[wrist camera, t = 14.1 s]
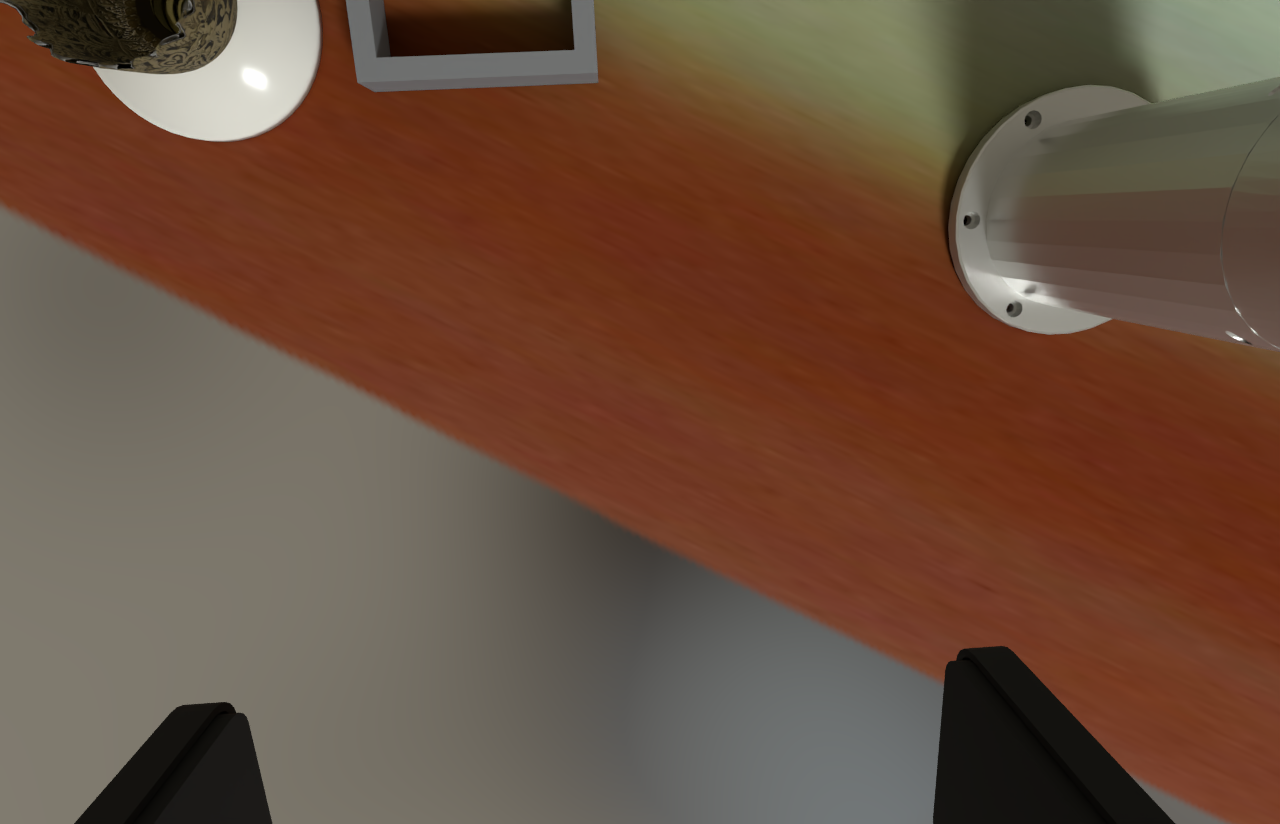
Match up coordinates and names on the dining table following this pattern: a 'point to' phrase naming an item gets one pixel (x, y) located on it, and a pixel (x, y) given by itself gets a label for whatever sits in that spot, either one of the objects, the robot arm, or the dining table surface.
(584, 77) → the pocket frame
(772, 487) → the dining table surface
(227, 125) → the coaster
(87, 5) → the ornate bronze lamp shade
